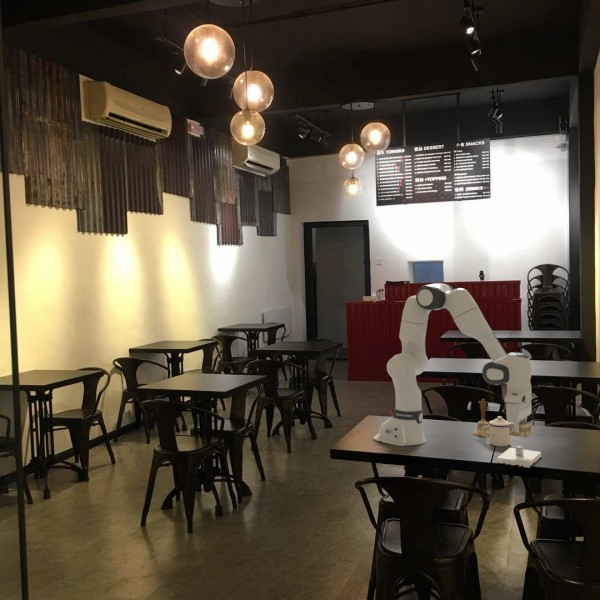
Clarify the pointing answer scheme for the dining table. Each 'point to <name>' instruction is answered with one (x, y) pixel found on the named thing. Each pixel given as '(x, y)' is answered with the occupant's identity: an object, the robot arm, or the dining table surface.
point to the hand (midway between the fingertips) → (520, 430)
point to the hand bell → (482, 421)
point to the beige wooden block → (521, 429)
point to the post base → (519, 457)
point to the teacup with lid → (498, 432)
